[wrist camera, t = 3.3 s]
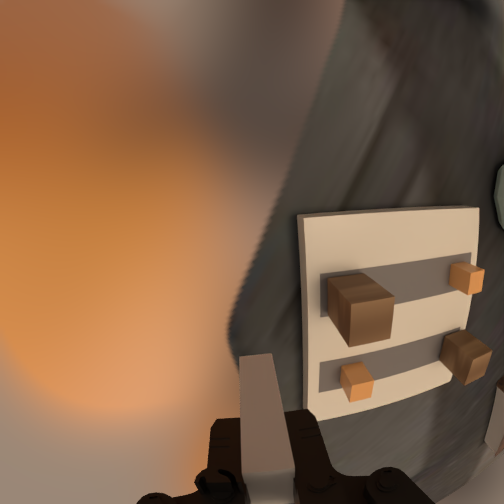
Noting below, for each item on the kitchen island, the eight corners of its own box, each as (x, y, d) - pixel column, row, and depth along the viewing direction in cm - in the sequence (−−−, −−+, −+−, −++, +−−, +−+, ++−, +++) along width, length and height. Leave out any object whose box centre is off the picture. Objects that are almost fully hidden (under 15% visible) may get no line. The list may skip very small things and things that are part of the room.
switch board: (296, 214, 22) (314, 223, 17) (463, 205, 22) (500, 211, 17) (302, 407, 27) (312, 443, 21) (440, 370, 27) (463, 394, 21)
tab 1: (327, 278, 20) (351, 304, 16) (364, 273, 20) (394, 296, 16) (327, 314, 21) (348, 347, 16) (362, 308, 21) (390, 338, 16)
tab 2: (444, 336, 22) (473, 360, 17) (464, 329, 22) (492, 350, 18) (438, 360, 23) (464, 385, 18) (458, 352, 23) (483, 375, 18)
